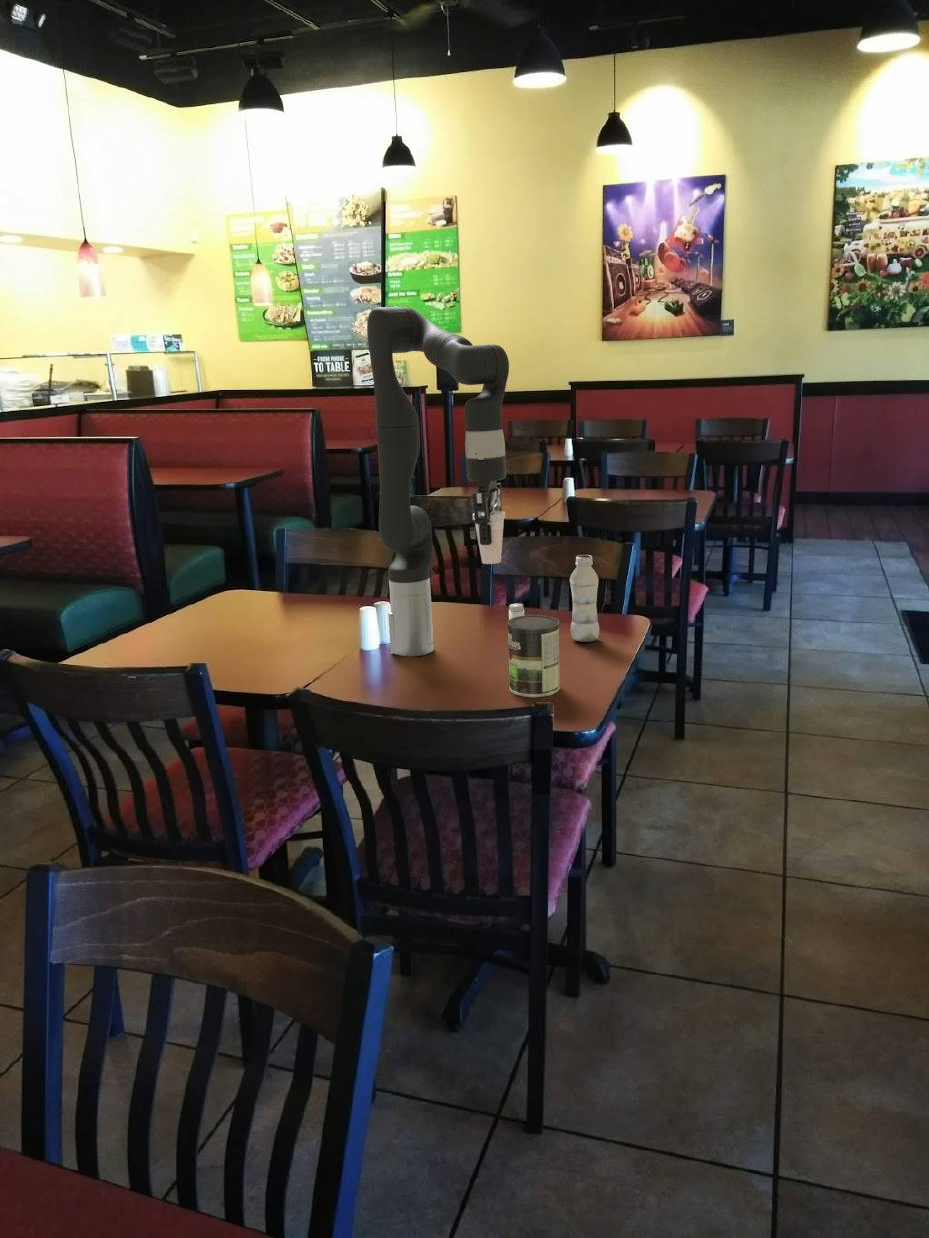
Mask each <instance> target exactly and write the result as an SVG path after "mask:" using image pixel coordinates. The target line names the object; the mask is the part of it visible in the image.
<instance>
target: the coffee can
mask: <svg viewBox="0 0 929 1238" xmlns="http://www.w3.org/2000/svg"><path fill="white" fill-rule="evenodd" d="M506 624H507V626H506V627H507V634H508V635H507V637H508V668H509V669H508V670H509V671H508V674H509V675H508V676H509V677H508V678H509V692H511V693H512V694H514V695H517V696H519V697H525V698H543V697H549V696H552V695H554V693H555V694H557V693H558V692H559V691H560V690H561V686H560V628H559V627H560V620H559V619H558V618H556V617H554V616H550V615H546V614H545V615H544V614H524V616H518V617H515V618H512V619H510V620H509V619H508V621H507V622H506Z"/></svg>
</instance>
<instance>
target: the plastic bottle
mask: <svg viewBox="0 0 929 1238" xmlns="http://www.w3.org/2000/svg"><path fill="white" fill-rule="evenodd" d="M593 563H594V562H593V556H592V555H589V554H580V555H576V557H575V566H576V567H575V568H574V569H573V571H572V573H571V574H570V578H569V584H570V589H571V590H570V591H571V597H572V598H571V599H572V600H571V601H572V616H571V617H572V618H571V624H570V635H571V637H572V639H573V640H574V641H577V642H580V643H581V642H583V643H587V642H588V643H591V642H594V641H596V640H597V639H598V638H599V634H600V625H599V624H600V623H599V621H598V612H597V601H598V600H597V598H598V588H599V577H598V574H597V573H596V571H595V569H594V568H593V567H592V565H594V564H593Z"/></svg>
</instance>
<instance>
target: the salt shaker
mask: <svg viewBox="0 0 929 1238" xmlns="http://www.w3.org/2000/svg"><path fill="white" fill-rule="evenodd" d="M524 615H525V609H524V604H523V603H511V604H509V609H508V621H509V620H510V619H512V618H515V617H518V616H524Z"/></svg>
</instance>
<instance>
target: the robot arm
mask: <svg viewBox="0 0 929 1238" xmlns="http://www.w3.org/2000/svg"><path fill="white" fill-rule="evenodd" d="M367 317H368V318H367V322H366V323H367V325H366V326H367V327H366V335H367V345H368V351H369V353H368V354H369V359H370V366H371V372H372V380H373V391H374V402H375V403H374V404H375V426H376V427H375V428H376V444H377V445H376V446H377V453H378V455H377V456H378V471H379V472H378V475H379V507H378V508H379V509H378V534H379V537H380V540H381V542H382V544H383V545H384V546H385V548H386V549H387V550H389V551H391V552H392V553H396V554H395V557H394V560H393V561H392V562H391V564H390V565H389V567H388V584H389V585H388V586H389V587H388V588H389V599H390V600H389V601H390V612H389V613H388V615H387V616H388V628H389V629H388V633H389V644H390V654H391V655H393V654H395V655H397V656H401V657H419V656H421V657H422V656H424V655H429V654H431V653H432V652H434V650H435V649H434V632H433V630H434V629H433V612H432V596H431V593H432V592H431V578H430V577H431V576H430V572H431V571H430V570H431V567H432V563H433V530H432V523H431V520H430V517H429V515H428V514H427V512H426V511H425V510H424V509H423V508H422V507H420V506H417V505H411V485H412V478H413V477H414V476H413V475H414V472H415V469H416V465H417V462H418V459H419V454H420V449H421V440H420V438H421V437H420V435H421V434H420V420H419V419H420V418H419V415H418V413H417V410H416V408H415V406H414V404H413V402H412V401H411V400H410V398H409V396H408V395H407V393H406V392H405V390H404V389H403V387H402V386H401V384H400V382H399V379H398V378H397V374H396V371H395V365H394V357H393V354H405V353H410V352H421V353H423V355H424V356H425V358H426V360H427V361H428V362H429V363H430V364H432V365H434V366H435V367H437V368H439V369H441V370H443V371H446V372H448V374H449V375H450V376H451V377H452V378H453V379H454V380H455V381H456V382H457V383H459V384H461V385H465V386H474V385H475V386H478V385H479V386H480V385H482V389H481V392H480V394H479V395H478V396H476V397H474V398H470V399H469V400H467V401H465V404H464V425H465V427H464V428H465V441H464V447H465V448H464V449H465V467H466V478H467V480H468V481H469V482H477V488H476V490H475V492H473V493H472V495H471V496H472V503H473V513H474V517H475V521H474V524H478V526H479V525H480V526H479V535H480V544H481V545H490V544H491V543H492V534H491V515H492V514H494V510H495V511H498V510H499V511H503V508H502V505H503V504H502V500H503V499H502V483H501V482H499V483H497V481H501V480H504V479H506V477H507V462H506V461H507V459H506V444H505V443H506V442H505V436H504V431H503V425H504V424H503V409H502V407H503V404H504V403H503V402H504V397H505V392H506V387H507V382H508V378H509V372H510V361H509V357H508V355H507V353H506V351H505V349H504V348H503V347H502V346H501V345H498V344H479V345H478V344H475V345H473V343H472V342H471V341H470V340H469V339H467V338H466V337H464V336H461V335H459V334H456V333H454V332H452V331H448V330H447V329H444V328H441V327H439V326H438V325H436V324H435V323H434V322H432V321H431V320H430V319H428V318H427V317H426V316H424V315H423V314H422V313H420V312H419V311H417V310H416V309H414V308H412V307H408V306H407V307H405V306H387V307H386V306H384V307H383V306H382V307H374V308H372V309H371V311H370V312H369V313H368V316H367ZM482 514H484V515H485V517H481V515H482Z"/></svg>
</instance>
